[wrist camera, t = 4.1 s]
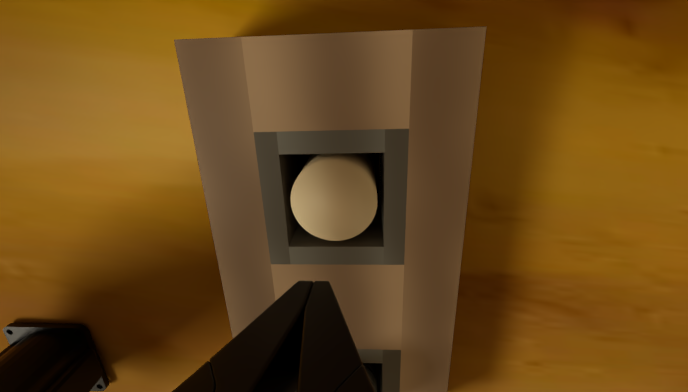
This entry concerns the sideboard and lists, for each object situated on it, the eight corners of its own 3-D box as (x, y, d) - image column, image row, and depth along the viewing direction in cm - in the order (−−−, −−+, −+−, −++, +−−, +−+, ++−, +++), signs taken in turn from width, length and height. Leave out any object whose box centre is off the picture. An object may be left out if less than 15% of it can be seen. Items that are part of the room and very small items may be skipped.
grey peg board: (275, 396, 27) (257, 464, 23) (223, 46, 18) (174, 39, 13) (425, 400, 26) (438, 472, 22) (453, 37, 17) (486, 26, 12)
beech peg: (309, 202, 21) (294, 240, 16) (304, 138, 19) (286, 160, 15) (374, 202, 20) (377, 240, 16) (374, 137, 19) (377, 159, 15)
